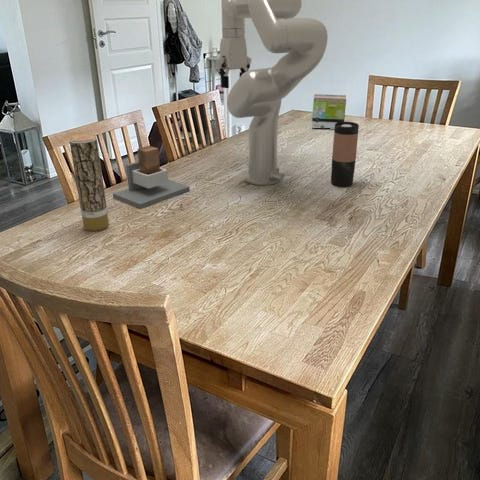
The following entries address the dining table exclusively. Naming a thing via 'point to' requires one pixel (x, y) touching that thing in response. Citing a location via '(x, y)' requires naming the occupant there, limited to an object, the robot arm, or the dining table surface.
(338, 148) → the travel mug
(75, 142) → the brown bark cylinder
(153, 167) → the rail post
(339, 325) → the dining table surface
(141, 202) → the bracket stand
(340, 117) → the tea box
